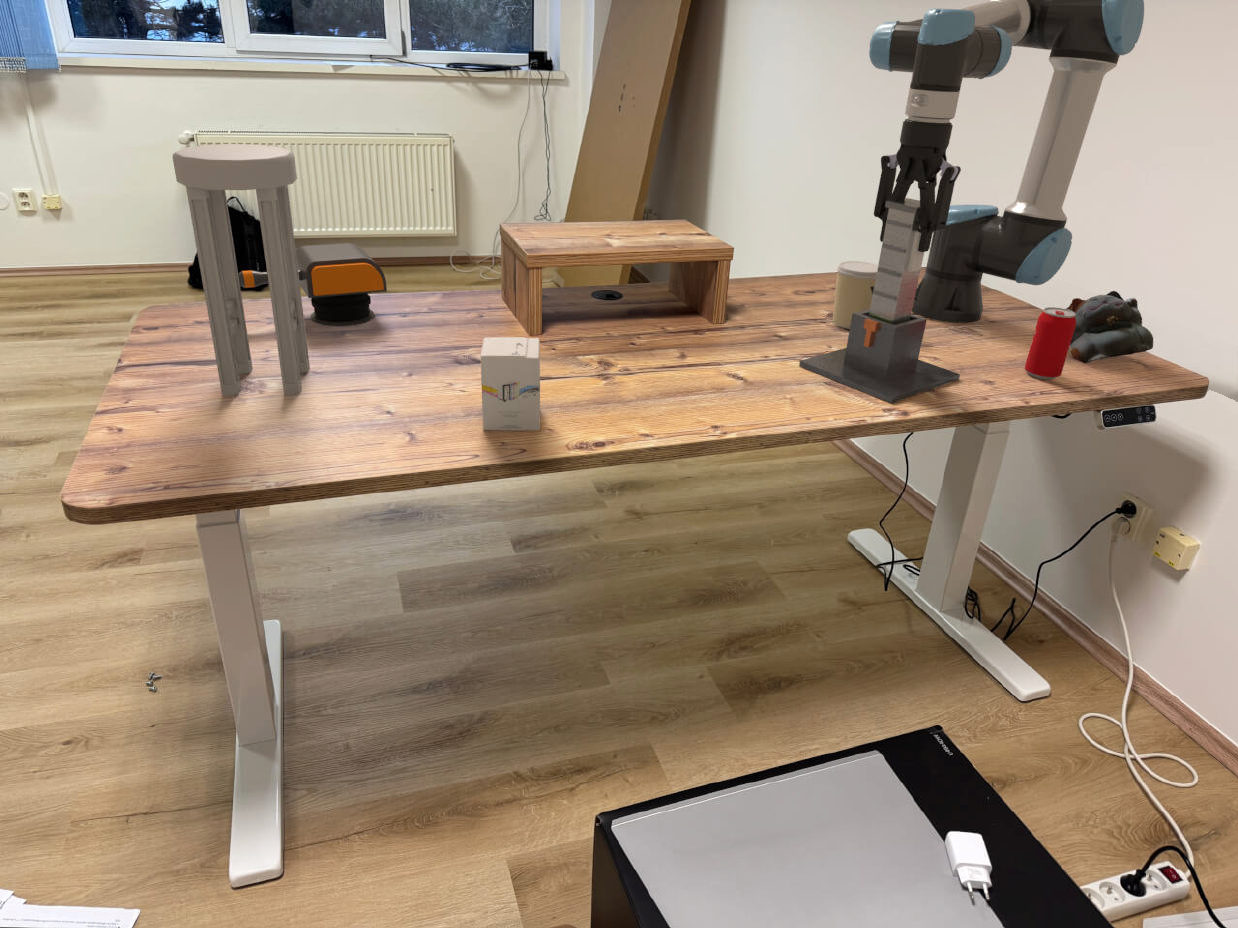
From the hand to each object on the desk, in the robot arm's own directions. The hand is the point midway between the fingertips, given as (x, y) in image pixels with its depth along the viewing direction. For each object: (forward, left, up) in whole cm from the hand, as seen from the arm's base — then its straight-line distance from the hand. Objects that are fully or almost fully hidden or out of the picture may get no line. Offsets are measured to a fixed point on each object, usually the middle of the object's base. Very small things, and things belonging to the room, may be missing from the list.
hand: (899, 265), depth 147 cm
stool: (+91, -51, -20) cm, 106 cm away
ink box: (+66, -18, -20) cm, 71 cm away
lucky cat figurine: (-46, +18, -20) cm, 53 cm away
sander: (+73, -77, -20) cm, 108 cm away
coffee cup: (-19, -21, -20) cm, 34 cm away
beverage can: (-26, +17, -20) cm, 37 cm away
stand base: (0, 0, -19) cm, 19 cm away
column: (0, 0, -11) cm, 11 cm away
